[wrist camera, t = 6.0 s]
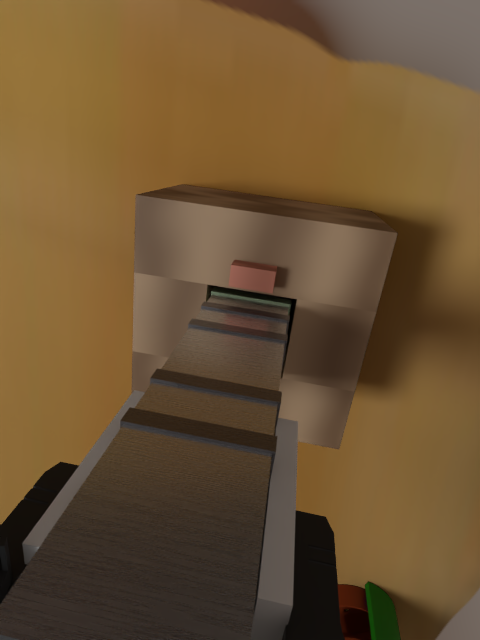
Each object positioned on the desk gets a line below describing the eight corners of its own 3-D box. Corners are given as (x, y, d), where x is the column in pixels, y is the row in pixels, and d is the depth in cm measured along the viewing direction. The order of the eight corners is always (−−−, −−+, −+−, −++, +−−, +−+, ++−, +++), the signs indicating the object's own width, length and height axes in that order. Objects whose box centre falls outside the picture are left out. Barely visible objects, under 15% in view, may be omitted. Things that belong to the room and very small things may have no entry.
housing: (171, 350, 36) (124, 419, 26) (182, 184, 30) (126, 196, 21) (331, 379, 34) (340, 462, 25) (371, 211, 29) (402, 237, 20)
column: (210, 348, 27) (5, 762, 8) (217, 281, 25) (-24, 625, 7) (280, 360, 26) (220, 825, 8) (292, 294, 25) (251, 695, 6)
